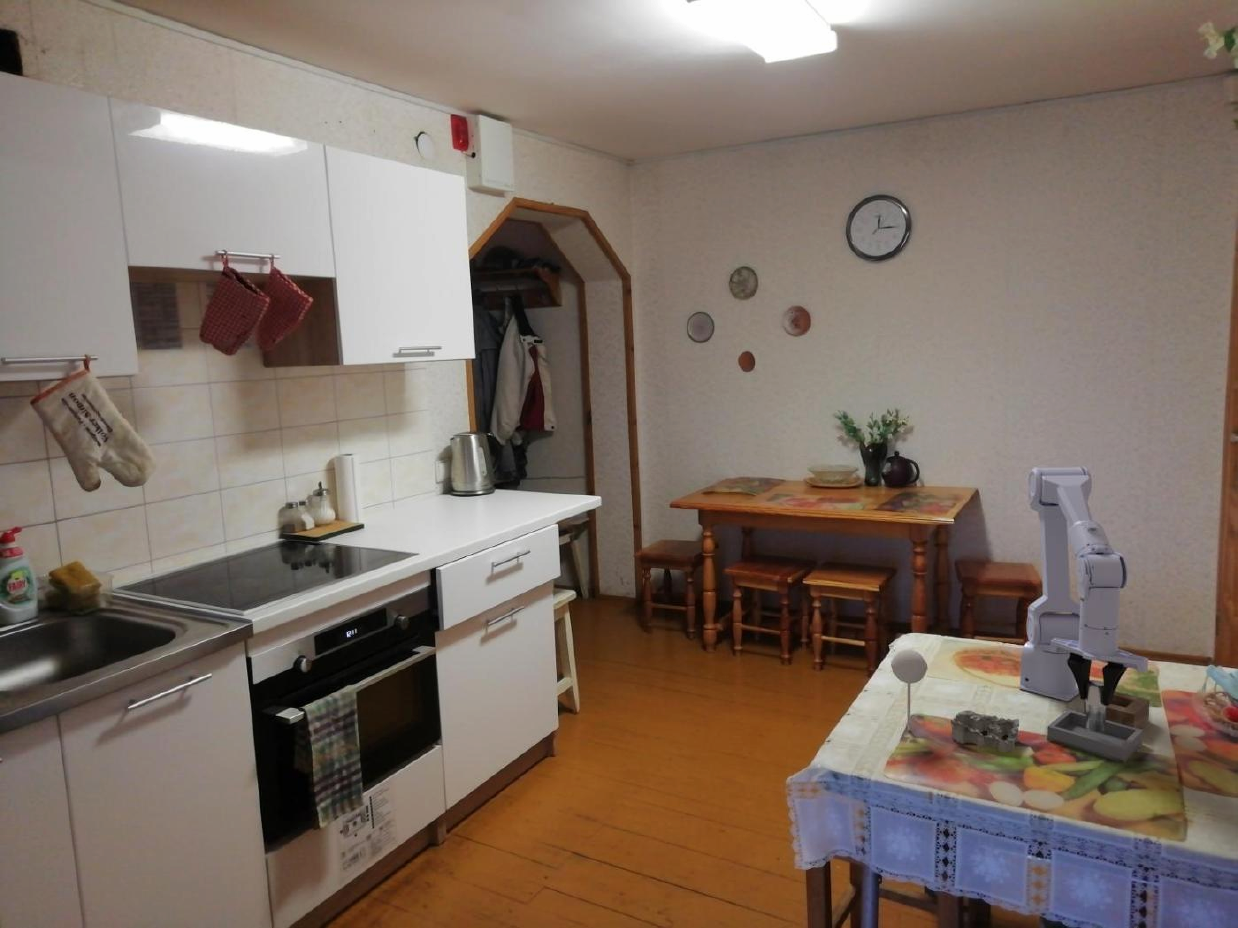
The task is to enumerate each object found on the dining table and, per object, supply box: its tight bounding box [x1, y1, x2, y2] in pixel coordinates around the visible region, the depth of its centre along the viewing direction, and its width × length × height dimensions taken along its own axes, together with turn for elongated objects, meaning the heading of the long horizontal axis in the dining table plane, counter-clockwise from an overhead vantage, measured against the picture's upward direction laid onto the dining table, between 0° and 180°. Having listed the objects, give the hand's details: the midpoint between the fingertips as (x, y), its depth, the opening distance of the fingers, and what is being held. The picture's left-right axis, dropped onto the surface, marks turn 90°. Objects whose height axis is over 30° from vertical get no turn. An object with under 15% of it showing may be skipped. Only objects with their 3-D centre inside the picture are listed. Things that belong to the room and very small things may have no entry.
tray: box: [1046, 709, 1144, 764], centre depth 146 cm, size 12×9×2 cm
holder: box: [1083, 690, 1151, 730], centre depth 153 cm, size 8×8×4 cm
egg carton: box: [950, 709, 1020, 753], centre depth 149 cm, size 11×8×4 cm
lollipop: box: [890, 649, 929, 732], centre depth 153 cm, size 6×6×15 cm
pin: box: [1085, 679, 1106, 732], centre depth 146 cm, size 3×3×8 cm
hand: (1095, 700), depth 145 cm, fingers closed on pin, 3 cm apart
